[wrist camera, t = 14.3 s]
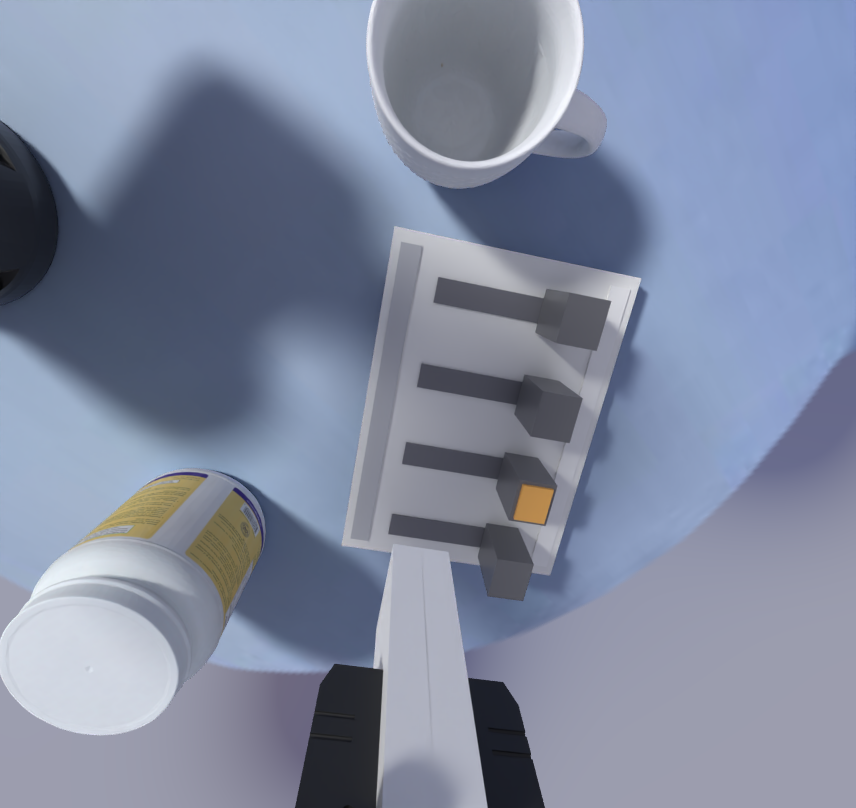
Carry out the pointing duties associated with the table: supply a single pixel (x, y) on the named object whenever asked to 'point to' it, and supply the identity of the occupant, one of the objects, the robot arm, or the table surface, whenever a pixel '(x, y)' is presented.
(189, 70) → the table surface
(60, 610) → the supplement tub
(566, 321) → the breaker
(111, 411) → the table surface
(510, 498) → the breaker
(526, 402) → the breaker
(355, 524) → the panel
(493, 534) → the breaker
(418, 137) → the mug
